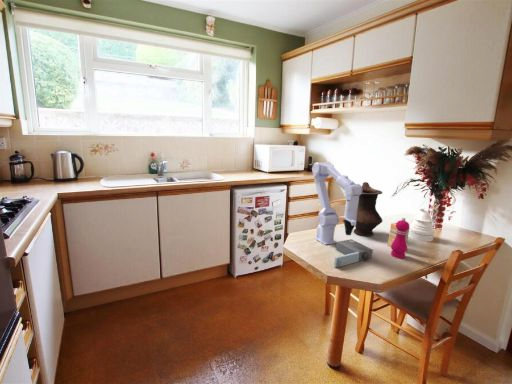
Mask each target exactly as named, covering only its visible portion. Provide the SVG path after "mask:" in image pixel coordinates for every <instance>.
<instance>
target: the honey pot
mask: <svg viewBox="0 0 512 384" xmlns="http://www.w3.org/2000/svg"><path fill="white" fill-rule="evenodd" d="M419 211H420V212H419V213H418V214H417V215H416V216H414V217H413V219H414V220H413V221H412V223H411V225H409V228H410V229H409V234H408V238H409V237H410V238H411V239H412V240H416V241H419V242H428V243H429V242H433V241H434V237H435V230H434V224H433V222H434V219H432V217H431V215H430V213H429V212H428V210H425V208H424V207H419Z"/></svg>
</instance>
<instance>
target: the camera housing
mask: <svg viewBox="0 0 512 384" xmlns="http://www.w3.org/2000/svg"><path fill="white" fill-rule="evenodd" d="M336 242H337V243H336V247H335V250H336V251H337V252H338V253H341V254H342V255H347V254H351V253H356V252H358V253H359V259H358V262H361V261H365V260H368V259H372V257H373V249H372V248H371V247H369V246H366V245H364V244H363V243H360V242H358V241H356V240H354V239H345V240H344V239H343V240H340V241H339V240H338V241H336Z"/></svg>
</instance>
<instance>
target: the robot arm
mask: <svg viewBox="0 0 512 384" xmlns="http://www.w3.org/2000/svg"><path fill="white" fill-rule="evenodd" d="M311 170H312V171H311V172H312V176H313V179H314V184H315V189H316V193H317V196H318V200H319V204H320V211H319V212H318V214H317V215H318V226H317V227H316V236H315V238H314V239H315V240H316V241H318V242H320V243H322V244H323V245H333V244H337V242H338V241H336V240H335V239H334V238H335V229H336V227H337V225H338V224H339V222H340V217H339V215H338V214H337V211H336V210H335V209H334V208H333V207H332V205H331V200H330V196H329V192H328V189H327V188H328V187H327V184H326V179H328V178H329V176H331V177H332V178H333V179H334V180H336V183H337V185H338V187H340V188H341V189H343V190H344V194H345V206H344V213H343V214H344V215H342V216H341V219H343V220H342V222H343V224H344V225H343V226H344V230H345V231H344V232H345V235H346V236H351V235H352V233H353V231H354V228H356V227H355V226H356V220H357V218H356V216H357V208H358V201H359V196H360V195H361V194H362V185H361V184H360V183H355V182H354V181H352V180H351V179H350V178H349V176H348V175H345V174H343V175H342V174H341V173H340V172H339V171H338V169H336V168H335V166H334V164H333V163H332V162H330V161H328V162H314V164H313V165H312V168H311Z"/></svg>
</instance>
